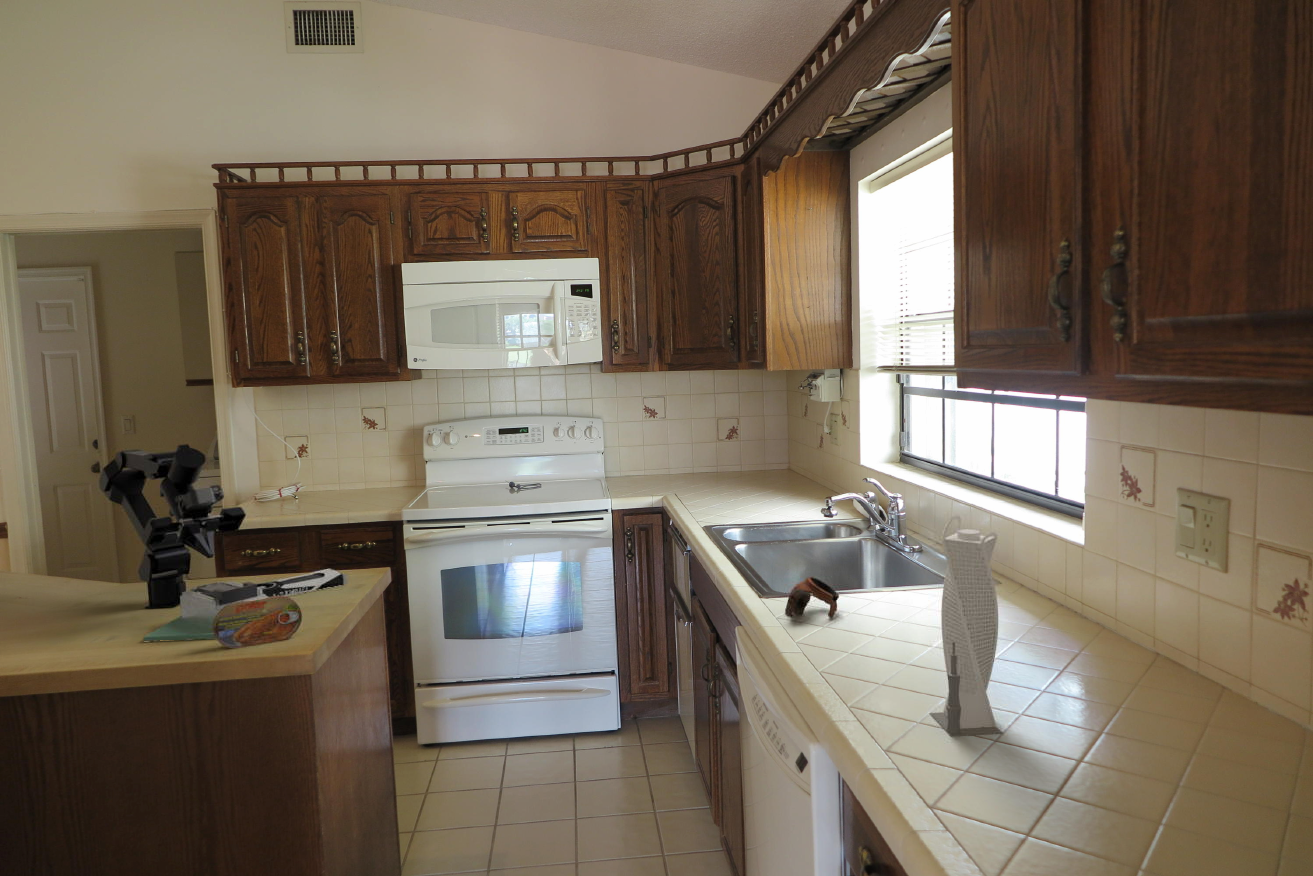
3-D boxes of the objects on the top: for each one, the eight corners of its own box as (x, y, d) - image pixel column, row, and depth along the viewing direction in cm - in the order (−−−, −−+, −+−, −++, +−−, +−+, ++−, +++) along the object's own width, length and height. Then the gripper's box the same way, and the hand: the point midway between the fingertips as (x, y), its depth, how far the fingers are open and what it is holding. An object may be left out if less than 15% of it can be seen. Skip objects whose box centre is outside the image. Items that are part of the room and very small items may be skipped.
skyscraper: (925, 711, 115) (924, 515, 113) (982, 708, 116) (982, 512, 113) (950, 738, 107) (949, 527, 104) (1010, 735, 107) (1011, 524, 105)
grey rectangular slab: (196, 591, 169) (195, 586, 169) (216, 586, 172) (215, 582, 172) (225, 598, 161) (224, 593, 161) (245, 593, 164) (245, 588, 164)
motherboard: (143, 642, 157) (143, 637, 157) (197, 611, 177) (196, 606, 176) (250, 637, 158) (250, 632, 158) (291, 607, 178) (291, 602, 177)
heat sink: (182, 619, 167) (178, 583, 167) (231, 607, 175) (228, 573, 174) (216, 632, 158) (213, 594, 157) (267, 618, 166) (264, 582, 165)
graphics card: (347, 572, 195) (233, 595, 178) (348, 586, 195) (234, 610, 178) (330, 566, 202) (220, 587, 186) (331, 579, 203) (221, 601, 186)
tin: (214, 652, 150) (210, 607, 149) (214, 647, 153) (211, 603, 152) (303, 637, 157) (300, 594, 156) (302, 632, 160) (299, 590, 159)
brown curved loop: (793, 606, 167) (814, 573, 166) (830, 635, 162) (851, 600, 161) (766, 606, 158) (787, 570, 156) (804, 636, 152) (826, 599, 151)
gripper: (145, 479, 162) (174, 540, 157) (239, 469, 177) (268, 524, 172) (130, 514, 167) (158, 575, 162) (222, 502, 182) (251, 557, 177)
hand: (211, 556), depth 168 cm, fingers closed
